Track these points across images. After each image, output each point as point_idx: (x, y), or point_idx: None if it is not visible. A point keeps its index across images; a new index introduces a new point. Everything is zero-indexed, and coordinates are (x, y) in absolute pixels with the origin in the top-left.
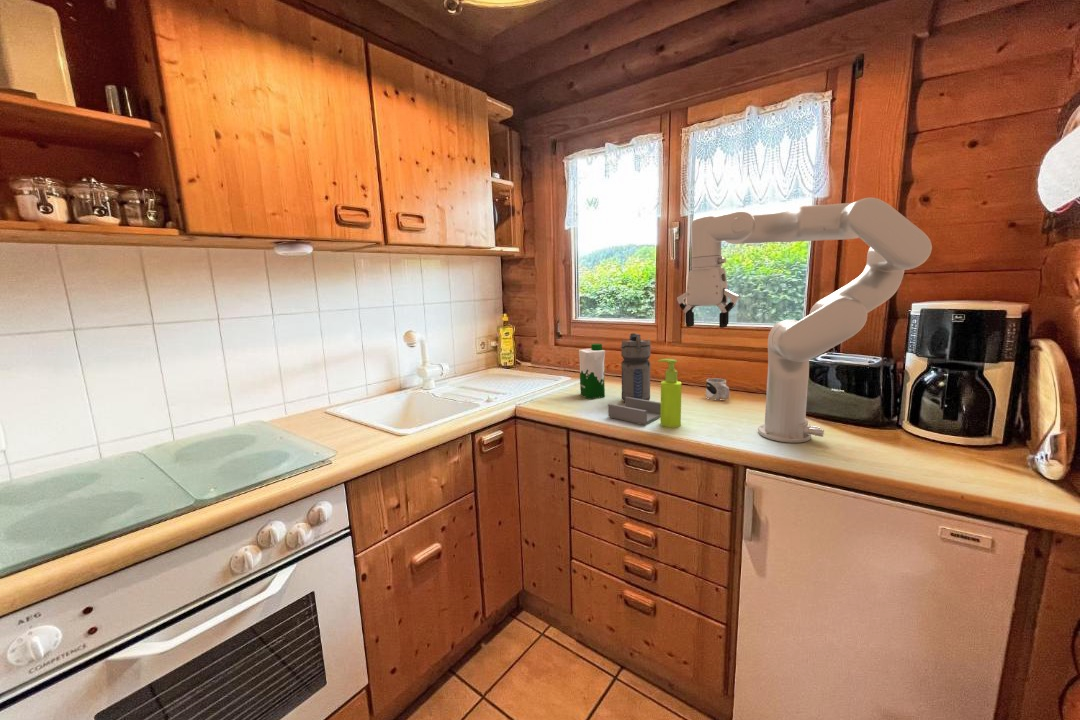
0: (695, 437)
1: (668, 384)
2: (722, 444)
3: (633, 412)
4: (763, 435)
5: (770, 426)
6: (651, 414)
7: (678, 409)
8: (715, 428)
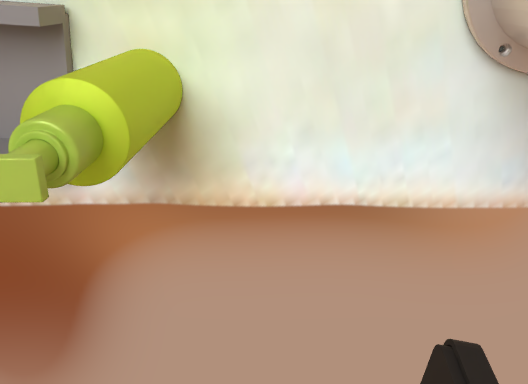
0: (272, 173)
1: (87, 184)
2: (365, 190)
3: None
4: (485, 51)
5: (524, 42)
6: (36, 48)
7: (163, 119)
8: (305, 42)
